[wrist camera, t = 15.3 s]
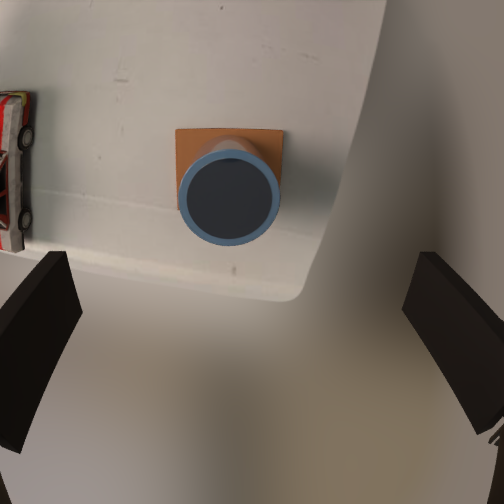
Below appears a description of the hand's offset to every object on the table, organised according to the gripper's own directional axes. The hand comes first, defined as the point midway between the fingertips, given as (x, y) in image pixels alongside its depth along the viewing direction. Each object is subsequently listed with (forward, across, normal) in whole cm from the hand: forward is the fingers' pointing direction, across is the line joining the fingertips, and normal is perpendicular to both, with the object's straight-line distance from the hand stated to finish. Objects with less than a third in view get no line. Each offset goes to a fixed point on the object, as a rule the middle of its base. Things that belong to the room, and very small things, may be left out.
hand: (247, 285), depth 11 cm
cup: (+20, -1, -1) cm, 20 cm away
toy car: (+21, -26, +1) cm, 34 cm away
